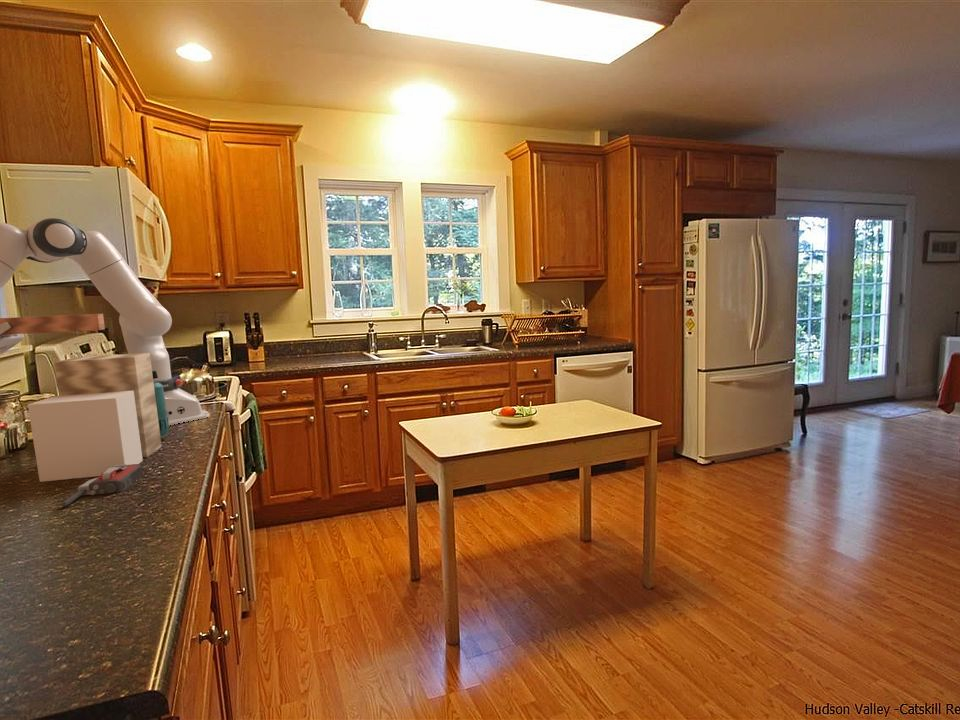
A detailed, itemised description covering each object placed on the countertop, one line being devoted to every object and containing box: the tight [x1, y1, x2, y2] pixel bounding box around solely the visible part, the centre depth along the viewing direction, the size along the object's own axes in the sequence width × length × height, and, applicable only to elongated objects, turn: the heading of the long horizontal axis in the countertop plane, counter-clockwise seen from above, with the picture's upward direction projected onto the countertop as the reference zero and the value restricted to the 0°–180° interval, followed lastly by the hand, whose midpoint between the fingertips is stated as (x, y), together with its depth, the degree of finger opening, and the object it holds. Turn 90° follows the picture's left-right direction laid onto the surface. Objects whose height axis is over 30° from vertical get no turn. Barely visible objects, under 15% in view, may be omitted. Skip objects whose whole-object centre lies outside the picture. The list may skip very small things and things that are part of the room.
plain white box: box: [27, 391, 144, 483], centre depth 134 cm, size 18×10×18 cm, turn 101°
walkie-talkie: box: [60, 463, 144, 507], centre depth 121 cm, size 9×4×20 cm
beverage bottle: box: [152, 371, 170, 437], centre depth 161 cm, size 6×7×20 cm
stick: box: [0, 313, 106, 335], centre depth 141 cm, size 24×3×4 cm, turn 101°
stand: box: [53, 353, 162, 459], centre depth 146 cm, size 18×10×26 cm, turn 101°
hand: (15, 323), depth 140 cm, fingers closed on stick, 3 cm apart
